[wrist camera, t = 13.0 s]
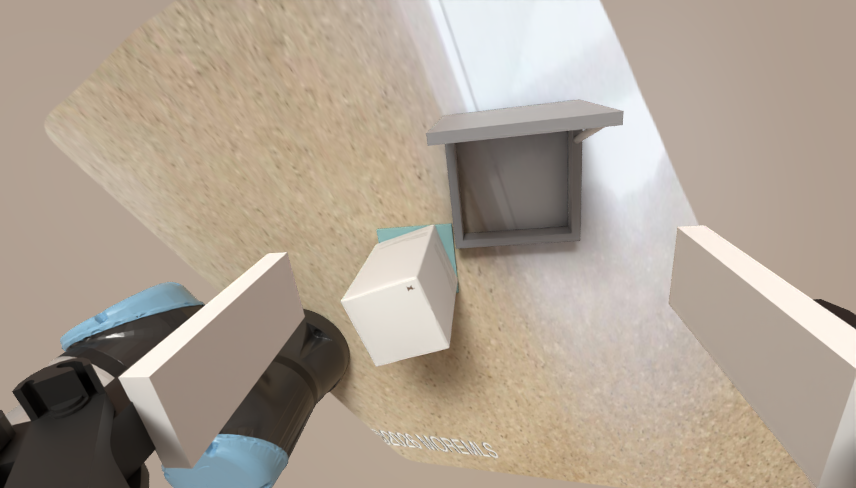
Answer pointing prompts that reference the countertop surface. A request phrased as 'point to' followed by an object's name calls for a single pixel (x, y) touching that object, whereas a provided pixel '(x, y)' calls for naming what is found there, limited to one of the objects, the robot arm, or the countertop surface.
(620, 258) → the countertop surface
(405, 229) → the mat
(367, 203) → the countertop surface
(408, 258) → the supplement box
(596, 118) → the case
